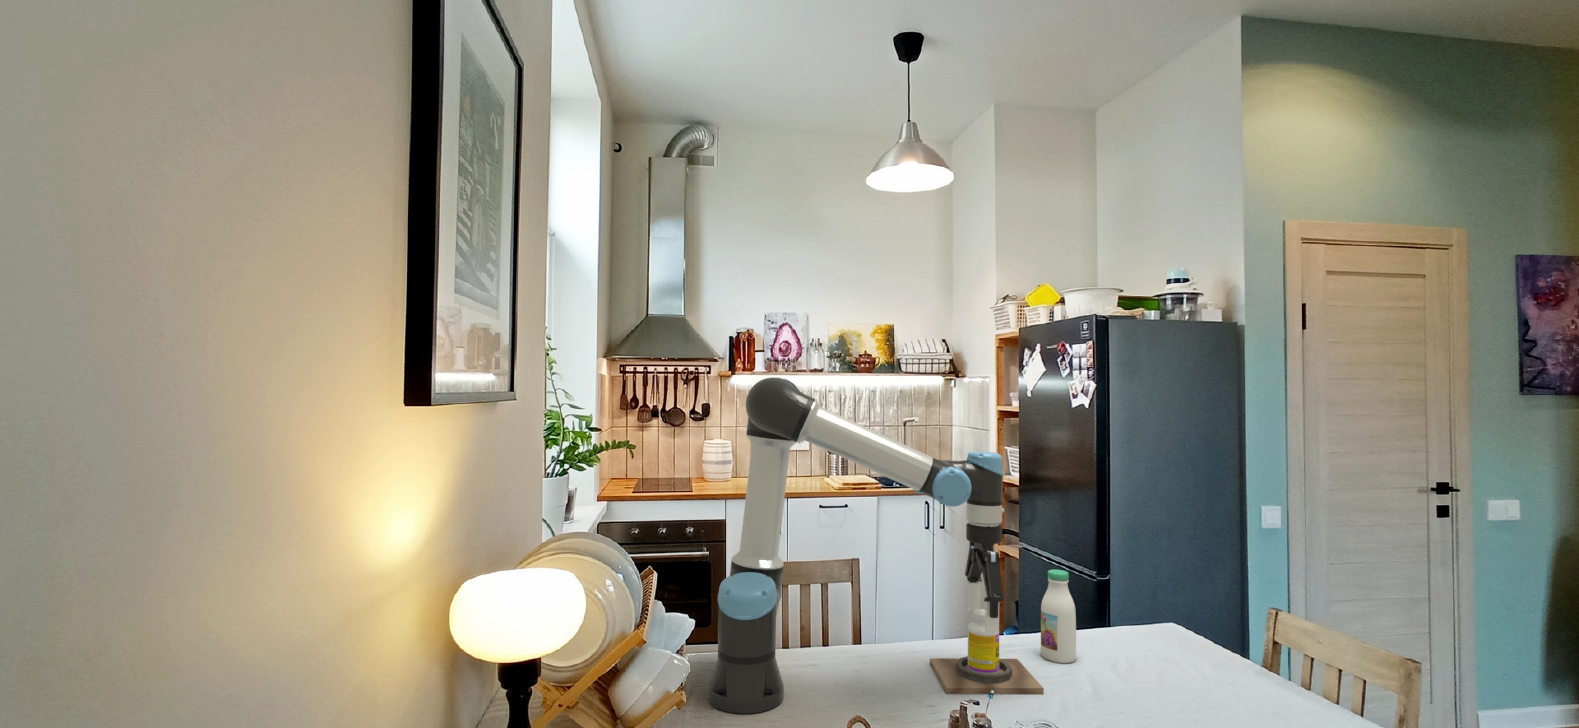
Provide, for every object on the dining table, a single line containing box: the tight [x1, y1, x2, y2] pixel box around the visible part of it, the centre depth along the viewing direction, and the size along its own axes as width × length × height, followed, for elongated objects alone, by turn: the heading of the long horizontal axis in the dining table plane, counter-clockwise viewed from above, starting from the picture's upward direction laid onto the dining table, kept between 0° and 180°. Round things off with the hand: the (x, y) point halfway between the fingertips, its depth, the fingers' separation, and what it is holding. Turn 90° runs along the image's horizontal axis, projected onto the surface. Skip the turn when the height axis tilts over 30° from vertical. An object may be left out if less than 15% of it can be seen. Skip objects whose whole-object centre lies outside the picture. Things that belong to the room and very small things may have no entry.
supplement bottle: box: [967, 608, 1000, 674], centre depth 155 cm, size 7×7×13 cm
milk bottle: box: [1040, 569, 1077, 664], centre depth 168 cm, size 8×8×20 cm
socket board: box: [929, 655, 1045, 695], centre depth 155 cm, size 20×16×3 cm
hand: (982, 621), depth 155 cm, fingers open, 13 cm apart
